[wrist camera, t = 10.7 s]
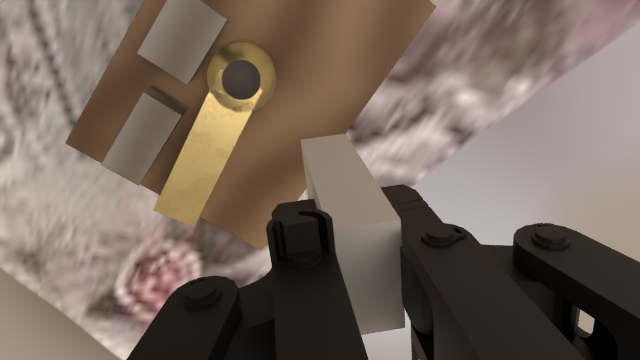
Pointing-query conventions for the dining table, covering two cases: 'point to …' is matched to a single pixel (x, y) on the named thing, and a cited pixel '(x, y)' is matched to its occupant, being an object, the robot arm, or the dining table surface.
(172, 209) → the latch bar
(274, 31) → the board
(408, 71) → the dining table surface
